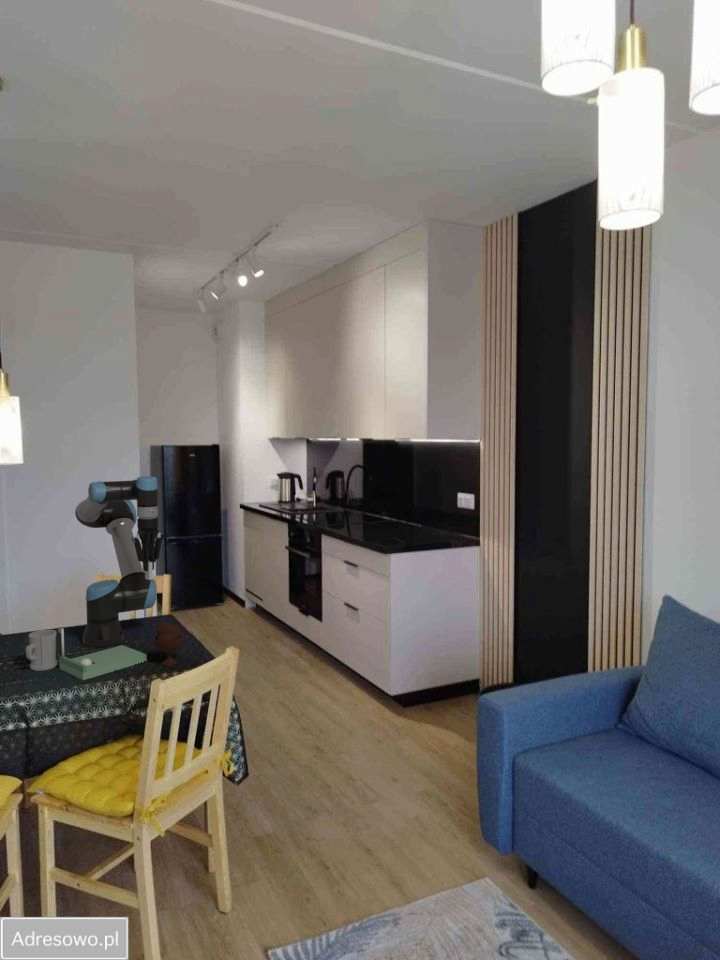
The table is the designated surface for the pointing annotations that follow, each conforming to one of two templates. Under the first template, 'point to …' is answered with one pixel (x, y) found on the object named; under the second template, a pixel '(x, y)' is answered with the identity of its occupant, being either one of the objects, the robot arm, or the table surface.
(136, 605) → the robot arm
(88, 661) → the ball
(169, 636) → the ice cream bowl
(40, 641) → the cup
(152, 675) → the table surface
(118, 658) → the putting mat
